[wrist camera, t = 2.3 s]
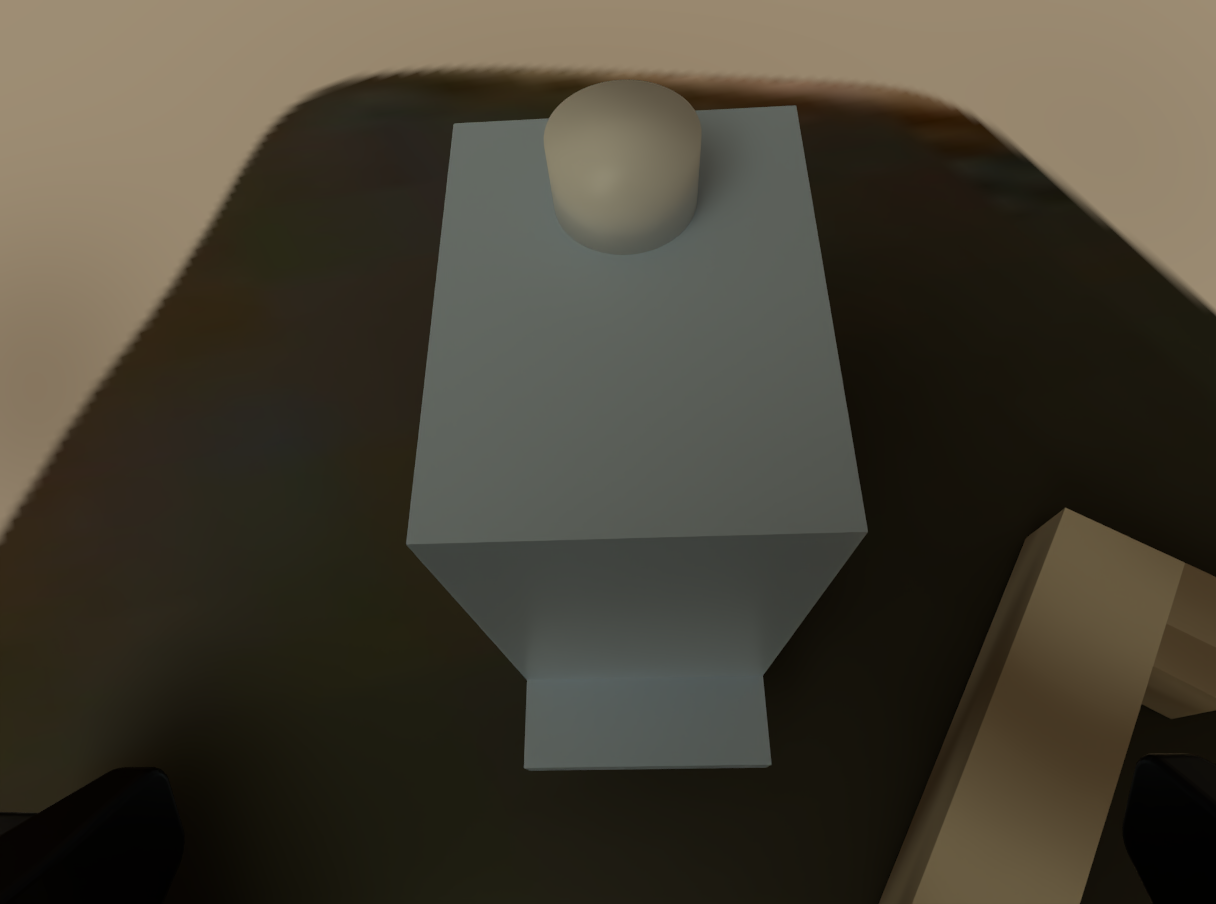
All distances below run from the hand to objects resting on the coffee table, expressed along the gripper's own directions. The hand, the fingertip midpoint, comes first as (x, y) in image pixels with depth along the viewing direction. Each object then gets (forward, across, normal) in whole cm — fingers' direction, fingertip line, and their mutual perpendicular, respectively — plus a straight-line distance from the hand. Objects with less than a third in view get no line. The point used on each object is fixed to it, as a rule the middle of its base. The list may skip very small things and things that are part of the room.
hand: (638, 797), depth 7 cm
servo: (+11, 0, +4) cm, 12 cm away
